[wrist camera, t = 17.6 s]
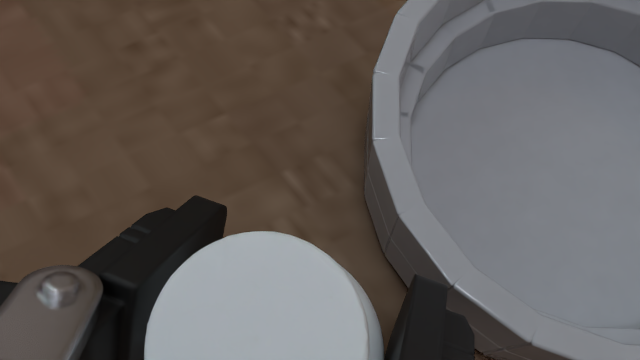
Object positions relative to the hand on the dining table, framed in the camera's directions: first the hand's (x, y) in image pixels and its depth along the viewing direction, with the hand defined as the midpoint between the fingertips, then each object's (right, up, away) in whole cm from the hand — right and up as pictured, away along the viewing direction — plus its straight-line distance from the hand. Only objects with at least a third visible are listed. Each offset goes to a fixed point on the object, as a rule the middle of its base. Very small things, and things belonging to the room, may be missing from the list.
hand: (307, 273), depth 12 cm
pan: (+8, +2, +5) cm, 10 cm away
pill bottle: (-1, -3, +3) cm, 5 cm away
